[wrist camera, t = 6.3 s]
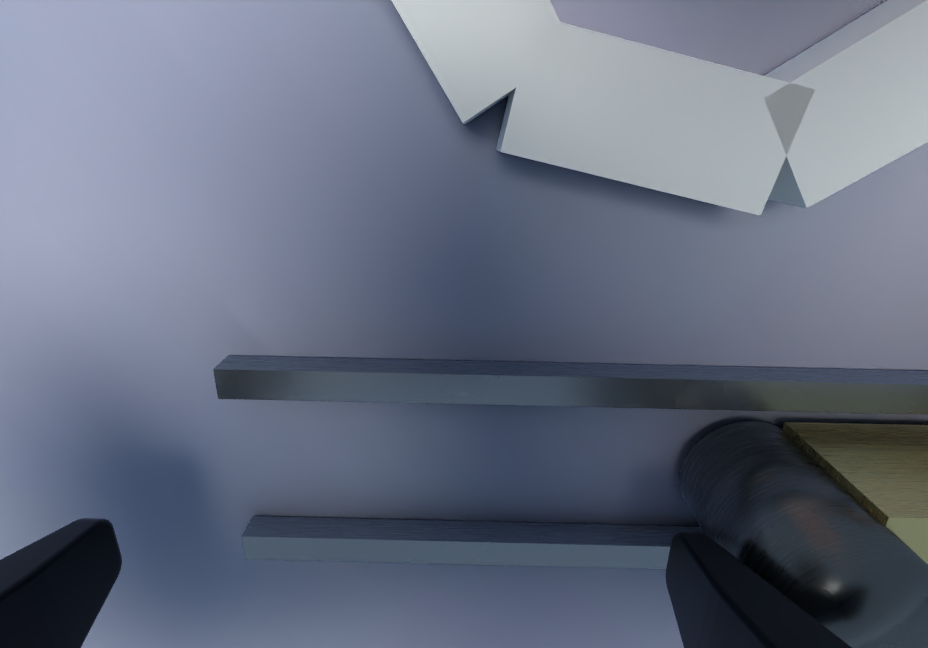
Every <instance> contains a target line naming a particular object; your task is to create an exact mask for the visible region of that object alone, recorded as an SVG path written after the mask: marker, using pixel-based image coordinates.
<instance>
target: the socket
mask: <svg viewBox="0 0 928 648" xmlns="http://www.w3.org/2000/svg"><path fill="white" fill-rule="evenodd" d="M391 1H392V2H393V4H394V6H395V8H396V9H397V11H398V13H399V14H400V16H401V18H402V20H403V21H404V23H405V25H406V26H407V28H408V30H409V32H410V33H411V35H412V37H413V39H414V40H415V42H416V44H417V45H418V47H419V49H420V51H421V52H422V54H423V56H424V57H425V59H426V61H427V63H428V64H429V66H430V68H431V69H432V71H433V73H434V75H435V76H436V78H437V80H438V81H439V83H440V85H441V87H442V88H443V90H444V92H445V93H446V95H447V97H448V99H449V100H450V102H451V104H452V105H453V107H454V109H455V111H456V112H457V114H458V116H459V118H460V119H461V121H462V123H463V124H464V125H465V124H467V123H468V122H470V121H471V120H473V119H474V118H476V117H477V116H478V115H480V114H481V113H483V112H484V111H486V110H487V109H489V108H490V107H492V106H493V105H495V104H496V103H498V102H499V101H501V100H502V99H504V98H505V97H507V96H508V95H509V97H508V101H507V105H506V109H505V114H504V118H503V122H502V126H501V130H500V135H499V139H498V143H497V147H496V150H498V151H500V152H503V153H507V154H511V155H515V156H519V157H523V158H527V159H531V160H535V161H539V162H543V163H547V164H552V165H556V166H560V167H564V168H568V169H572V170H576V171H580V172H584V173H588V174H592V175H596V176H601V177H605V178H609V179H613V180H617V181H621V182H625V183H629V184H633V185H637V186H641V187H645V188H649V189H654V190H658V191H662V192H666V193H670V194H674V195H678V196H682V197H686V198H690V199H694V200H698V201H702V202H707V203H711V204H715V205H719V206H723V207H727V208H731V209H735V210H739V211H743V212H747V213H751V214H755V215H760V216H761V214H762V212H763V209H764V207H765V205H766V202H767V200H770V201H775V202H780V203H784V204H789V205H794V206H798V207H803V208H808V207H810V206H812V205H814V204H816V203H818V202H819V201H821V200H823V199H825V198H827V197H829V196H830V195H832V194H834V193H836V192H838V191H839V190H841V189H843V188H845V187H847V186H849V185H850V184H852V183H854V182H856V181H858V180H859V179H861V178H863V177H865V176H867V175H869V174H870V173H872V172H874V171H876V170H878V169H880V168H881V167H883V166H885V165H887V164H889V163H890V162H892V161H894V160H896V159H898V158H900V157H901V156H903V155H905V154H907V153H909V152H910V151H912V150H914V149H916V148H918V147H920V146H921V145H923V144H925V143H927V142H928V0H887V1H885V2H883V3H882V4H880V5H879V6H877V7H875V8H874V9H872V10H870V11H869V12H867V13H865V14H864V15H862V16H861V17H859V18H857V19H856V20H854V21H852V22H851V23H849V24H847V25H846V26H844V27H843V28H841V29H839V30H838V31H836V32H834V33H833V34H831V35H829V36H828V37H826V38H825V39H823V40H821V41H820V42H818V43H816V44H815V45H813V46H811V47H810V48H808V49H807V50H805V51H803V52H802V53H800V54H798V55H797V56H795V57H793V58H792V59H790V60H789V61H787V62H785V63H784V64H782V65H780V66H779V67H777V68H775V69H774V70H772V71H771V72H769V73H767V74H766V75H764V76H763V75H759V74H755V73H751V72H748V71H744V70H740V69H736V68H732V67H729V66H725V65H721V64H717V63H714V62H710V61H706V60H702V59H698V58H695V57H691V56H687V55H683V54H679V53H676V52H672V51H668V50H664V49H661V48H657V47H653V46H649V45H645V44H642V43H638V42H634V41H630V40H627V39H623V38H619V37H615V36H611V35H608V34H604V33H600V32H596V31H593V30H589V29H585V28H581V27H577V26H574V25H570V24H566V23H562V22H560V20H559V18H558V16H557V14H556V12H555V10H554V8H553V6H552V4H551V2H550V0H391Z"/></svg>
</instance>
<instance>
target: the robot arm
mask: <svg viewBox="0 0 928 648" xmlns="http://www.w3.org/2000/svg"><path fill="white" fill-rule="evenodd" d="M121 564H122V558H121V553H120V550H119V546H118V543H117V539H116V535H115V532H114V528H113V525H112V523H111V522H110V521H109V520H106V519H95V518H84V519H79V520H76V521H74V522H72V523H70V524H69V525H67V526H65V527H63V528H61V529H59V530H57V531H55V532H53V533H51V534H49V535H47V536H45V537H44V538H42V539H40V540H38V541H36V542H34V543H32V544H30V545H28V546H26V547H24V548H22V549H20V550H18V551H17V552H15V553H13V554H11V555H9V556H7V557H5V558H3V559H1V560H0V648H81V646H82V644H83V642H84V640H85V638H86V637H87V635H88V633H89V631H90V629H91V627H92V625H93V623H94V621H95V619H96V617H97V615H98V614H99V612H100V610H101V608H102V606H103V604H104V602H105V600H106V598H107V596H108V594H109V592H110V591H111V589H112V587H113V585H114V583H115V581H116V579H117V577H118V575H119V572H120V569H121ZM666 583H667V588H668V592H669V595H670V599H671V602H672V606H673V609H674V613H675V617H676V620H677V624H678V627H679V631H680V635H681V638H682V642H683V645H684V648H852V647H851V646H849V645H848V644H847V643H845V642H844V641H843V640H841V639H840V638H839V637H838V636H836V635H835V634H834V633H832V632H831V631H830V630H829V629H827V628H826V627H825V626H823V625H822V624H821V623H820V622H818V621H817V620H816V619H814V618H813V617H812V616H811V615H809V614H808V613H807V612H805V611H804V610H803V609H802V608H800V607H799V606H798V605H796V604H795V603H794V602H792V601H791V600H790V599H789V598H787V597H786V596H785V595H783V594H782V593H781V592H780V591H778V590H777V589H776V588H774V587H773V586H772V585H771V584H769V583H768V582H767V581H765V580H764V579H763V578H762V577H760V576H759V575H758V574H756V573H755V572H754V571H753V570H751V569H750V568H749V567H747V566H746V565H745V564H743V563H742V562H741V561H740V560H738V559H737V558H736V557H734V556H733V555H732V554H731V553H729V552H728V551H727V550H725V549H724V548H723V547H722V546H720V545H719V544H718V543H716V542H715V541H714V540H713V539H711V538H710V537H709V536H707V535H706V534H704V533H703V532H700V531H677V532H675V533H674V535H673V537H672V541H671V546H670V551H669V556H668V561H667V567H666Z"/></svg>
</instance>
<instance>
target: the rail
mask: <svg viewBox="0 0 928 648" xmlns="http://www.w3.org/2000/svg"><path fill="white" fill-rule="evenodd" d="M213 370H214V376H215V382H216V388H217V394H218V399H255V400H300V401H345V402H390V403H435V404H480V405H525V406H570V407H615V408H661V409H706V410H751V411H796V412H841V413H886V414H928V371H913V370H867V369H821V368H775V367H728V366H682V365H636V364H590V363H543V362H497V361H451V360H405V359H358V358H312V357H266V356H227V357H226V358H225V359H224V360H223V361H222V362H221V363H220V364H219V365H217V366H216V367H215V368H214V369H213ZM677 531H700V532H703V531H702V529H701V528H700V527H691V526H649V525H607V524H565V523H523V522H481V521H439V520H397V519H354V518H312V517H270V516H253V517H252V519H251V521H250V523H249V524H248V526H247V528H246V530H245V531H244V533H243V535H242V542H243V548H244V554H245V559H261V560H302V561H343V562H384V563H425V564H466V565H507V566H548V567H589V568H631V569H666V567H667V561H668V556H669V551H670V546H671V541H672V537H673V535H674V533H675V532H677Z"/></svg>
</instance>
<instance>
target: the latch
mask: <svg viewBox="0 0 928 648" xmlns="http://www.w3.org/2000/svg"><path fill="white" fill-rule="evenodd" d="M679 487H680V492H681V494H682V497H683V499H684V500H685V502H686V504H687V505H688V507H689V509H690V511H691V512H692V514H693V516H694V517H695V519H696V521H697V523H698V524H699V526H700V528H701V529H702V531H703V533H704V534H706V535H707V536H709V537H710V538H711V539H713V540H714V541H715V542H716V543H718V544H719V545H720V546H722V547H723V548H724V549H725V550H727V551H728V552H729V553H731V554H732V555H733V556H734V557H736V558H737V559H738V560H740V561H741V562H742V563H743V564H745V565H746V566H747V567H749V568H750V569H751V570H753V571H754V572H755V573H756V574H758V575H759V576H760V577H762V578H763V579H764V580H765V581H767V582H768V583H769V584H771V585H772V586H773V587H774V588H776V589H777V590H778V591H780V592H781V593H782V594H783V595H785V596H786V597H787V598H789V599H790V600H791V601H792V602H794V603H795V604H796V605H798V606H799V607H800V608H802V609H803V610H804V611H805V612H807V613H808V614H809V615H811V616H812V617H813V618H814V619H816V620H817V621H818V622H820V623H821V624H822V625H823V626H825V627H826V628H827V629H829V630H830V631H831V632H832V633H834V634H835V635H836V636H838V637H839V638H840V639H841V640H843V641H844V642H845V643H847V644H848V645H849V646H851V647H852V648H928V425H897V424H852V423H807V422H784V425H783V429H781V428H779V427H777V426H774V425H772V424H769V423H764V422H755V421H747V422H738V423H733V424H729V425H726V426H723V427H721V428H718V429H716V430H714V431H712V432H711V433H709V434H708V435H706V436H705V437H703V438H702V439H701V440H699V441H698V442H697V443H696V444H695V445H694V446H693V447H692V449H691V450H690V451H689V452H688V454H687V456H686V457H685V459H684V461H683V463H682V466H681V469H680V473H679Z"/></svg>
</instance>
